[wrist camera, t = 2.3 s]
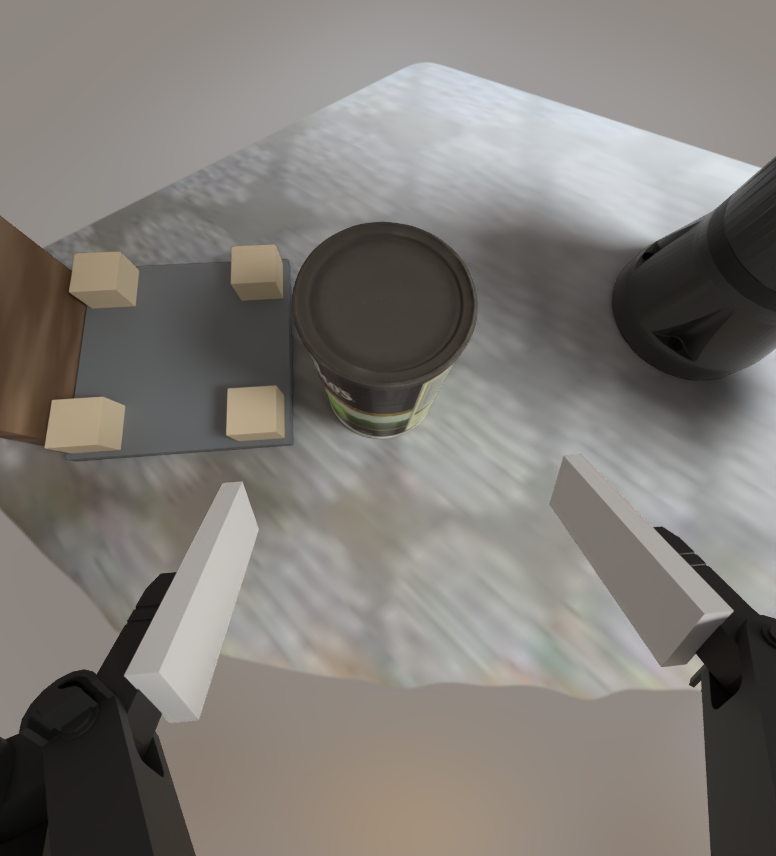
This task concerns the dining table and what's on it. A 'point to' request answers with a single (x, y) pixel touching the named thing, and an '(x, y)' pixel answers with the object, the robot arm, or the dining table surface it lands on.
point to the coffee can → (384, 322)
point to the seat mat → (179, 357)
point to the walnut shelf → (35, 336)
